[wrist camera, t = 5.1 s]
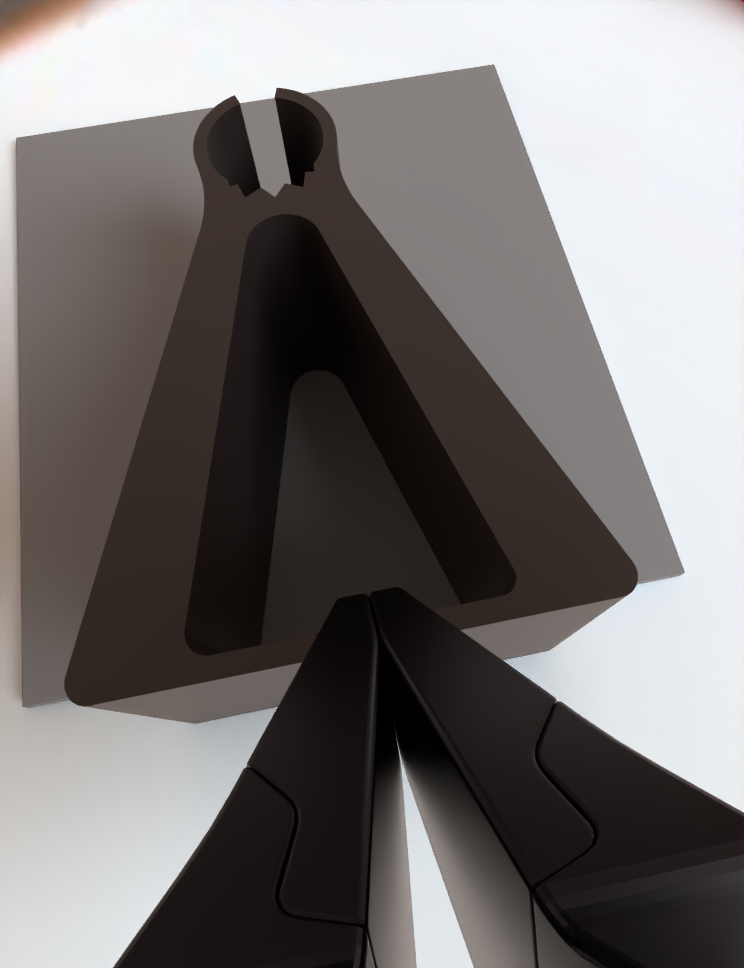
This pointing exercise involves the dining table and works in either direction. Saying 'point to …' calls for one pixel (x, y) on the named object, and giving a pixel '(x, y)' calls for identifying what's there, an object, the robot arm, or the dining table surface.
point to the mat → (316, 394)
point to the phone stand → (261, 441)
